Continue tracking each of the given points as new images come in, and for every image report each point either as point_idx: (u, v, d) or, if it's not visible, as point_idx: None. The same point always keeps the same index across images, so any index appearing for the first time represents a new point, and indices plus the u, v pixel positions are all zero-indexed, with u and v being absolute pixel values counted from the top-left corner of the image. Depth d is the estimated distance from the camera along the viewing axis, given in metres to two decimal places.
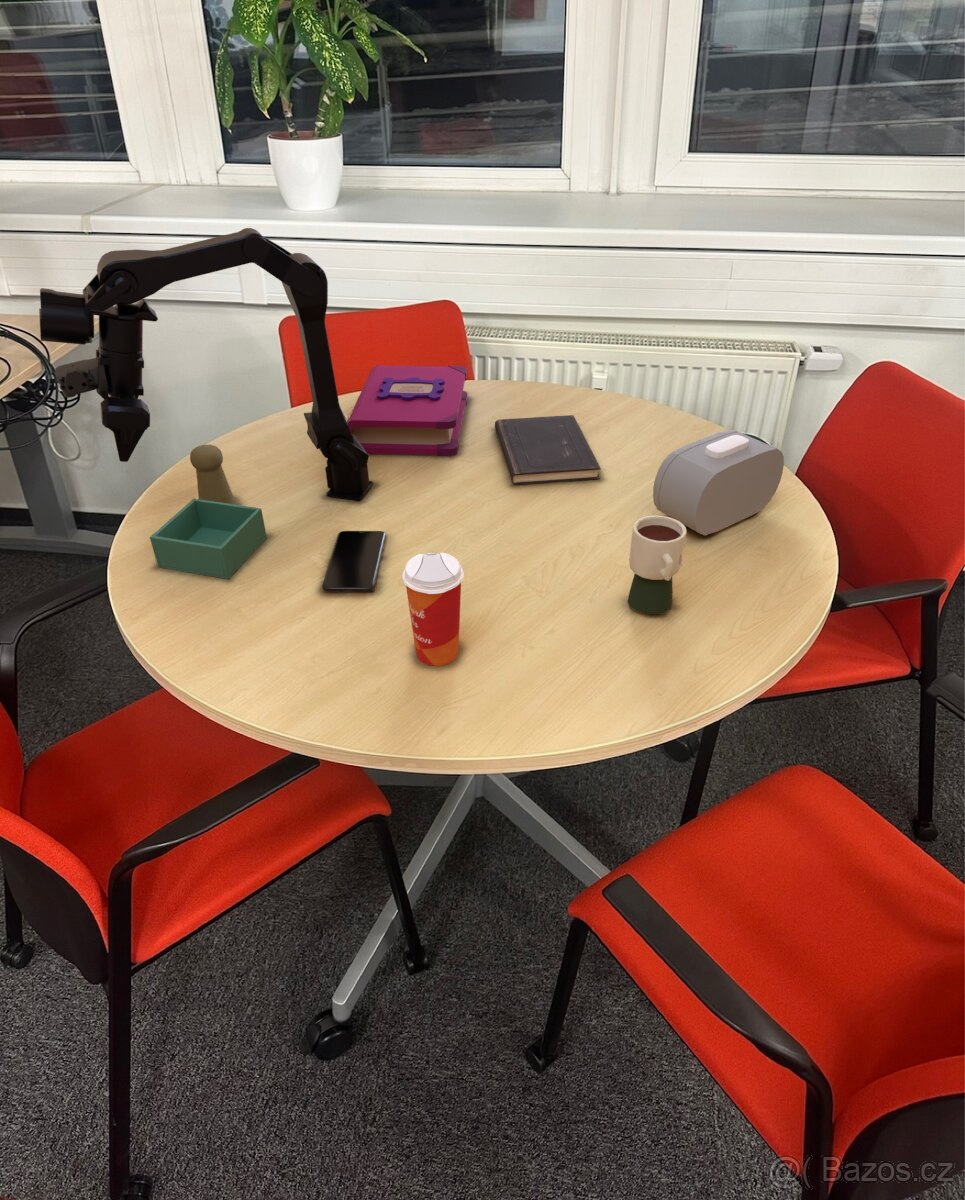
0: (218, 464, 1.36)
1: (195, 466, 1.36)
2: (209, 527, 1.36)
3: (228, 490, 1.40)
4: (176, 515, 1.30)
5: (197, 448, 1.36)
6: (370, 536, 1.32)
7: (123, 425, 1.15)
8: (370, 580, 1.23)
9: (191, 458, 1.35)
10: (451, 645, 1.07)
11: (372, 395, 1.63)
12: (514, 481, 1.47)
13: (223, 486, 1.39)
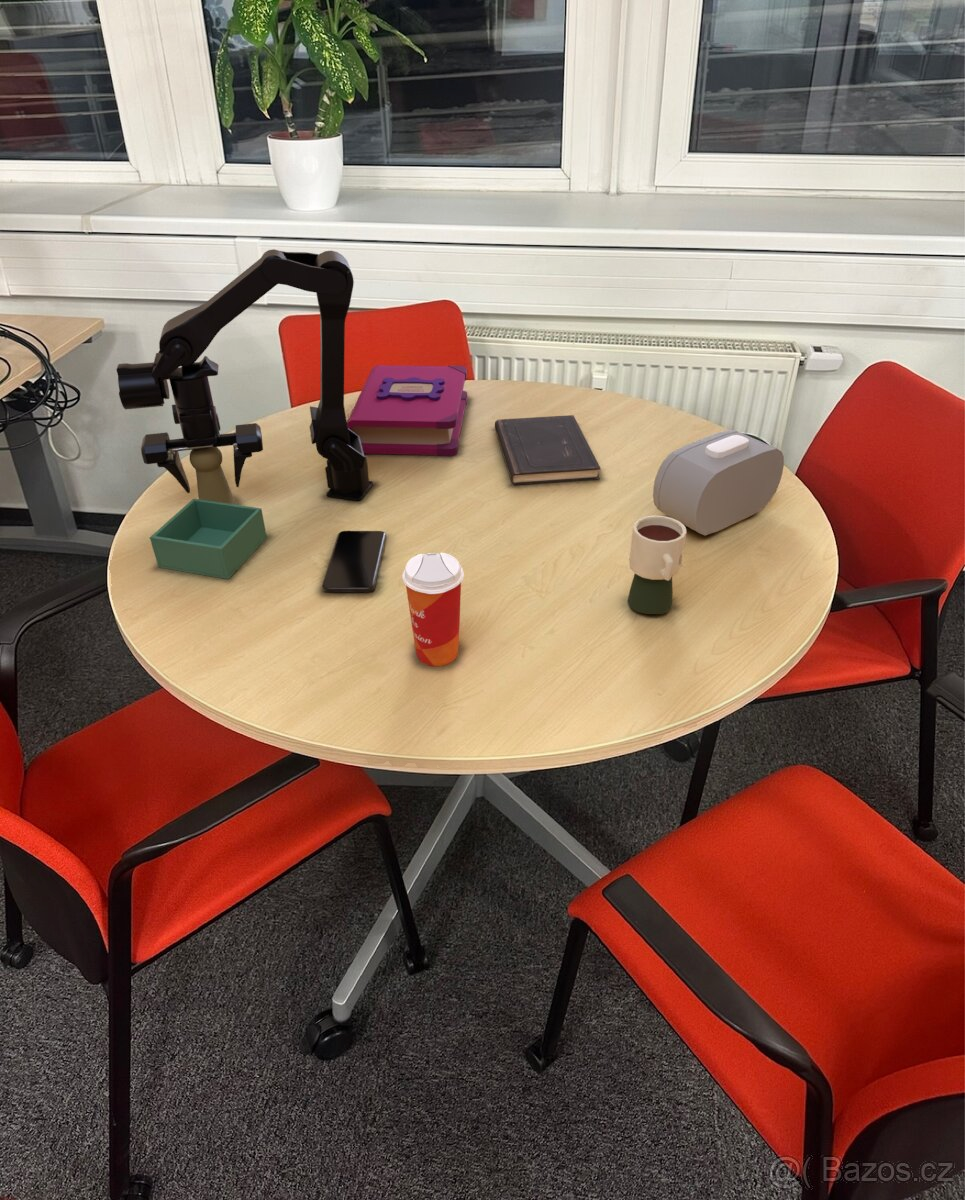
0: (217, 464, 1.36)
1: (195, 466, 1.36)
2: (209, 527, 1.36)
3: (228, 490, 1.40)
4: (176, 515, 1.30)
5: None
6: (370, 536, 1.32)
7: None
8: (370, 580, 1.23)
9: (190, 458, 1.35)
10: (451, 645, 1.07)
11: (372, 395, 1.63)
12: (514, 481, 1.47)
13: (223, 486, 1.39)
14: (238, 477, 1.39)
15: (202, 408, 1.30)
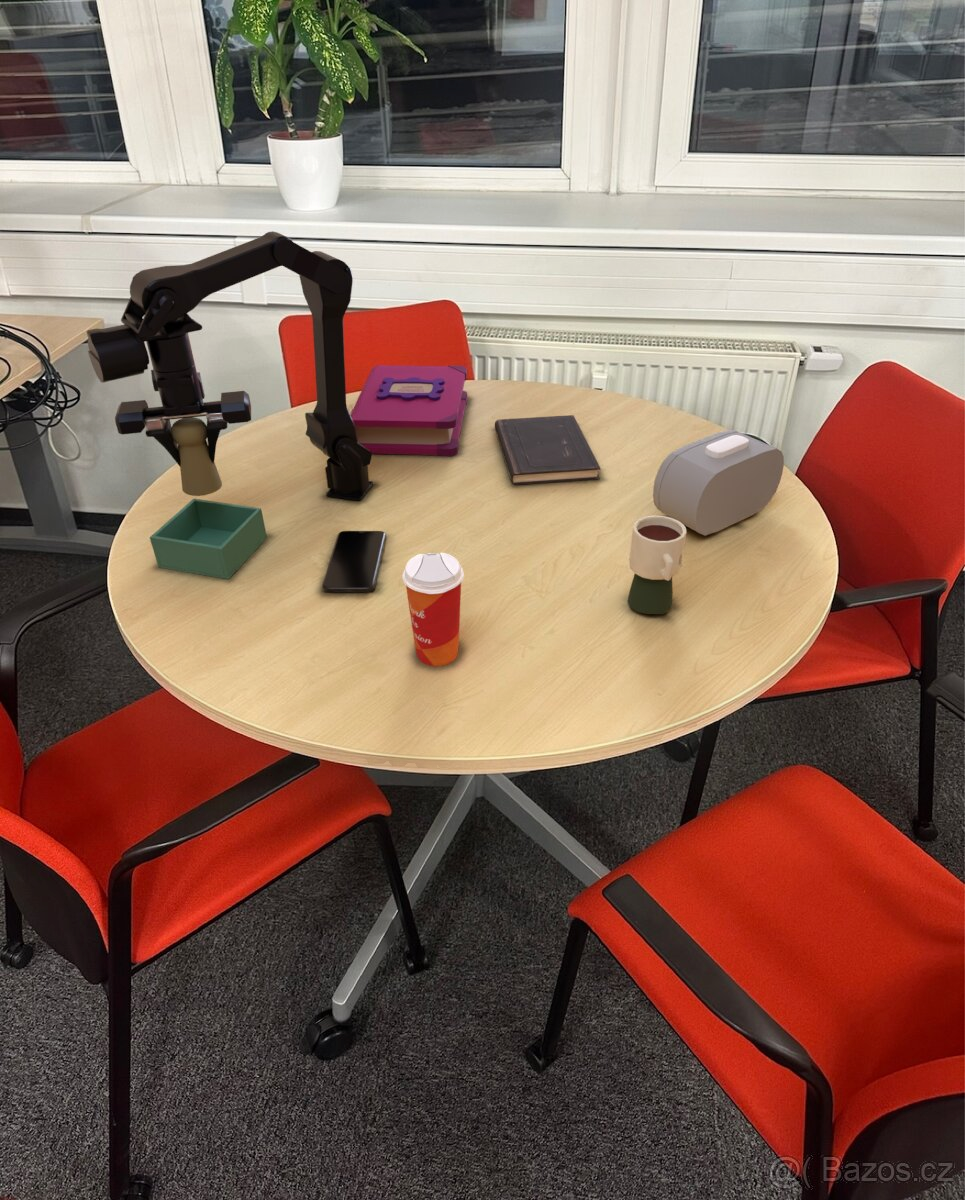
0: (202, 439, 1.23)
1: (176, 441, 1.22)
2: (209, 527, 1.36)
3: (213, 468, 1.27)
4: (176, 515, 1.30)
5: (179, 421, 1.23)
6: (370, 536, 1.32)
7: None
8: (370, 580, 1.23)
9: (172, 431, 1.22)
10: (451, 645, 1.07)
11: (372, 395, 1.63)
12: (514, 481, 1.47)
13: (208, 464, 1.26)
14: (212, 452, 1.25)
15: (182, 371, 1.16)
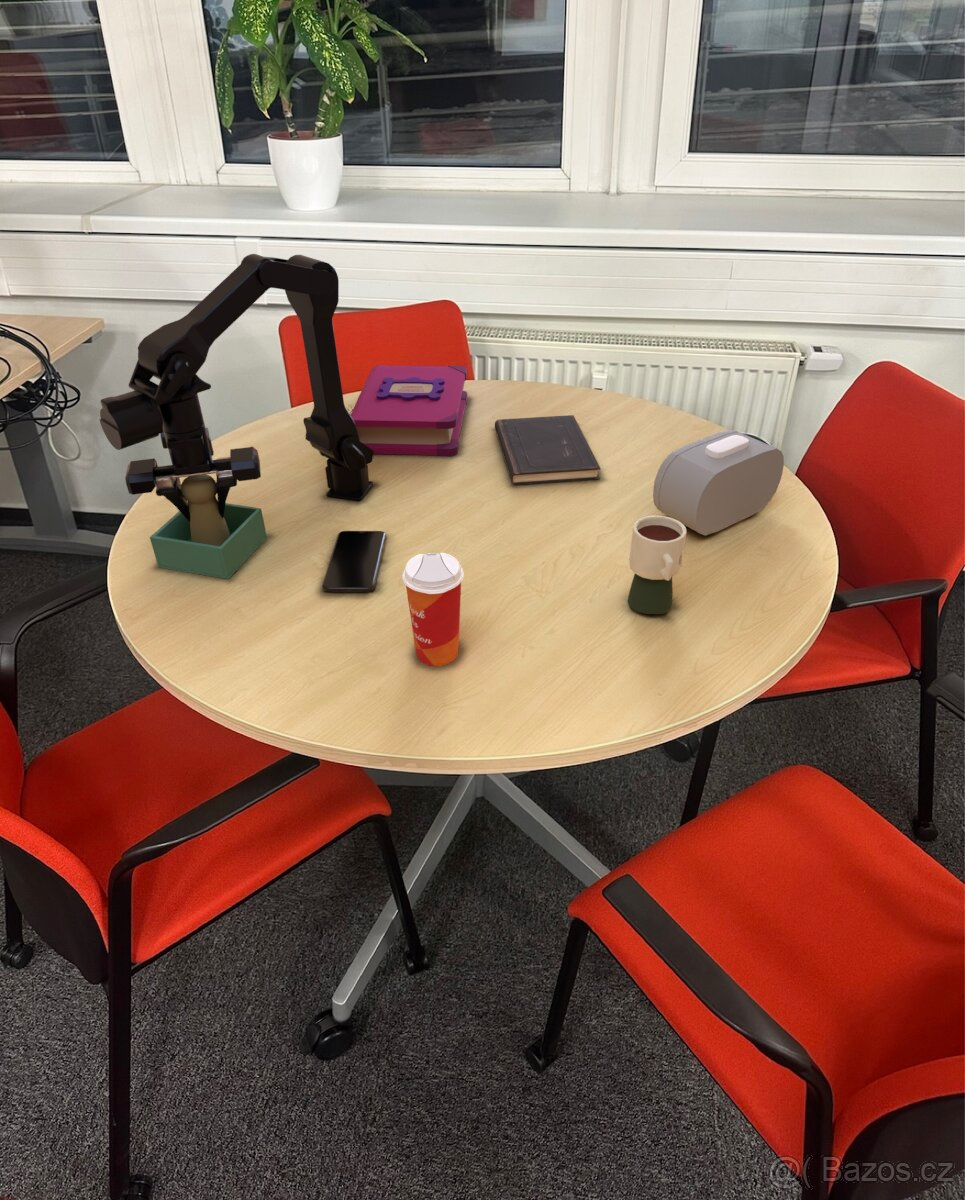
0: (212, 496, 1.24)
1: (186, 498, 1.23)
2: None
3: (223, 523, 1.28)
4: (176, 515, 1.30)
5: (189, 478, 1.23)
6: (370, 536, 1.32)
7: None
8: (370, 580, 1.23)
9: (182, 489, 1.23)
10: (451, 645, 1.07)
11: (372, 395, 1.63)
12: (514, 481, 1.47)
13: (218, 520, 1.26)
14: (222, 508, 1.26)
15: (192, 432, 1.16)
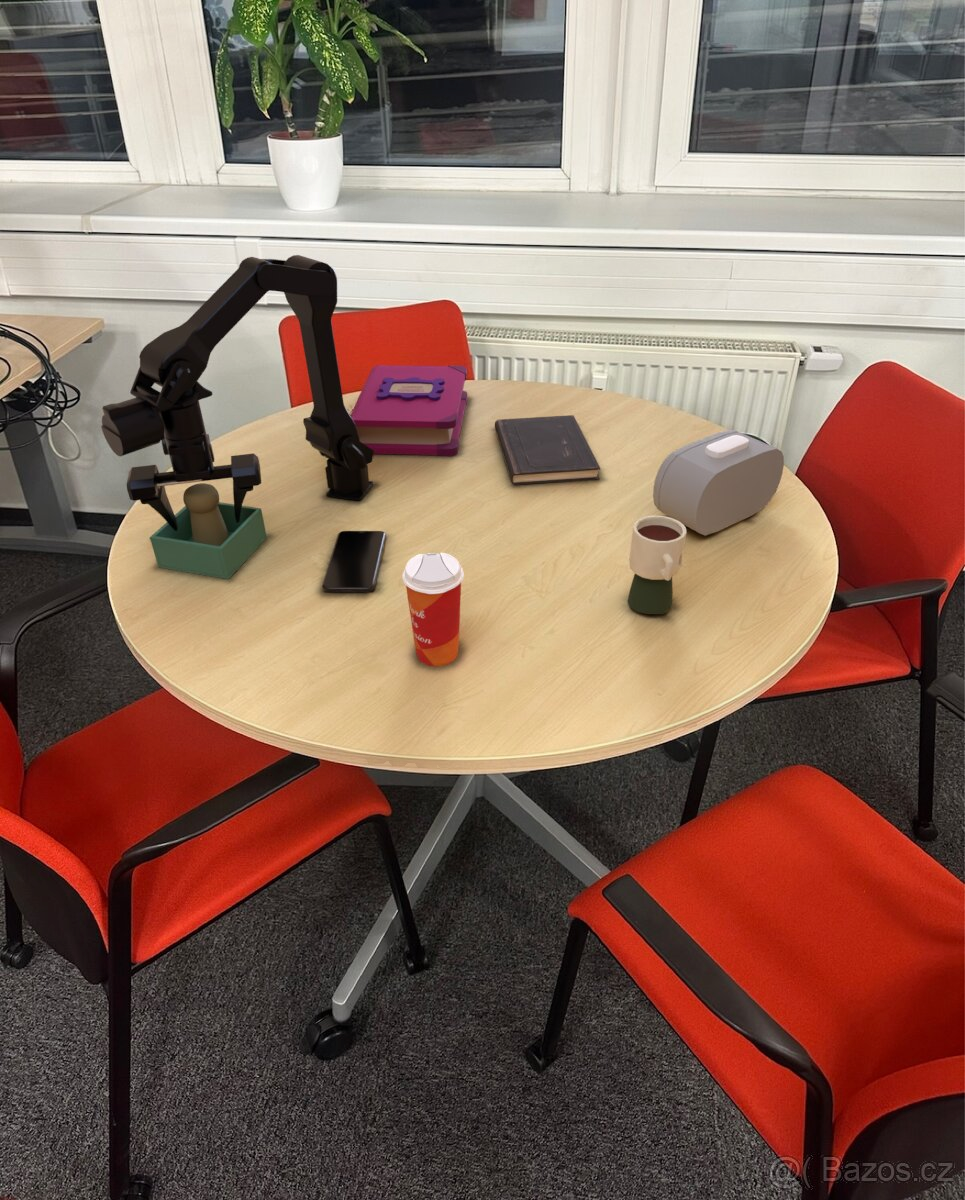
0: (214, 505, 1.25)
1: (189, 508, 1.24)
2: None
3: (225, 532, 1.29)
4: (176, 515, 1.30)
5: (191, 488, 1.24)
6: (370, 536, 1.32)
7: None
8: (370, 580, 1.23)
9: (184, 498, 1.24)
10: (451, 645, 1.07)
11: (372, 395, 1.63)
12: (514, 481, 1.47)
13: (220, 529, 1.27)
14: (238, 512, 1.27)
15: (194, 439, 1.17)
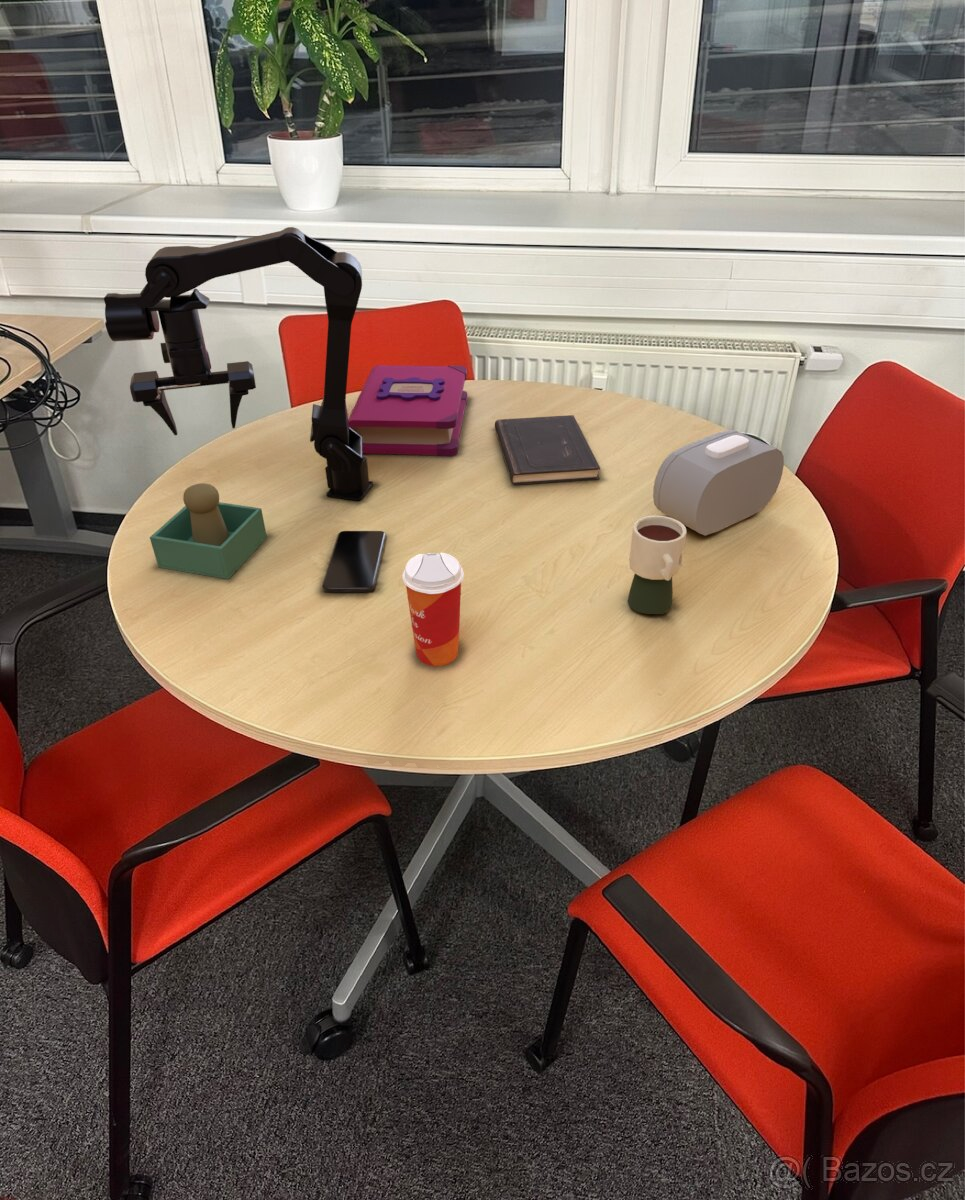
0: (214, 505, 1.25)
1: (189, 508, 1.24)
2: None
3: (225, 532, 1.29)
4: (176, 515, 1.30)
5: (191, 488, 1.24)
6: (370, 536, 1.32)
7: None
8: (370, 580, 1.23)
9: (184, 498, 1.24)
10: (451, 645, 1.07)
11: (372, 395, 1.63)
12: (514, 481, 1.47)
13: (220, 529, 1.27)
14: (234, 417, 1.35)
15: (193, 342, 1.26)
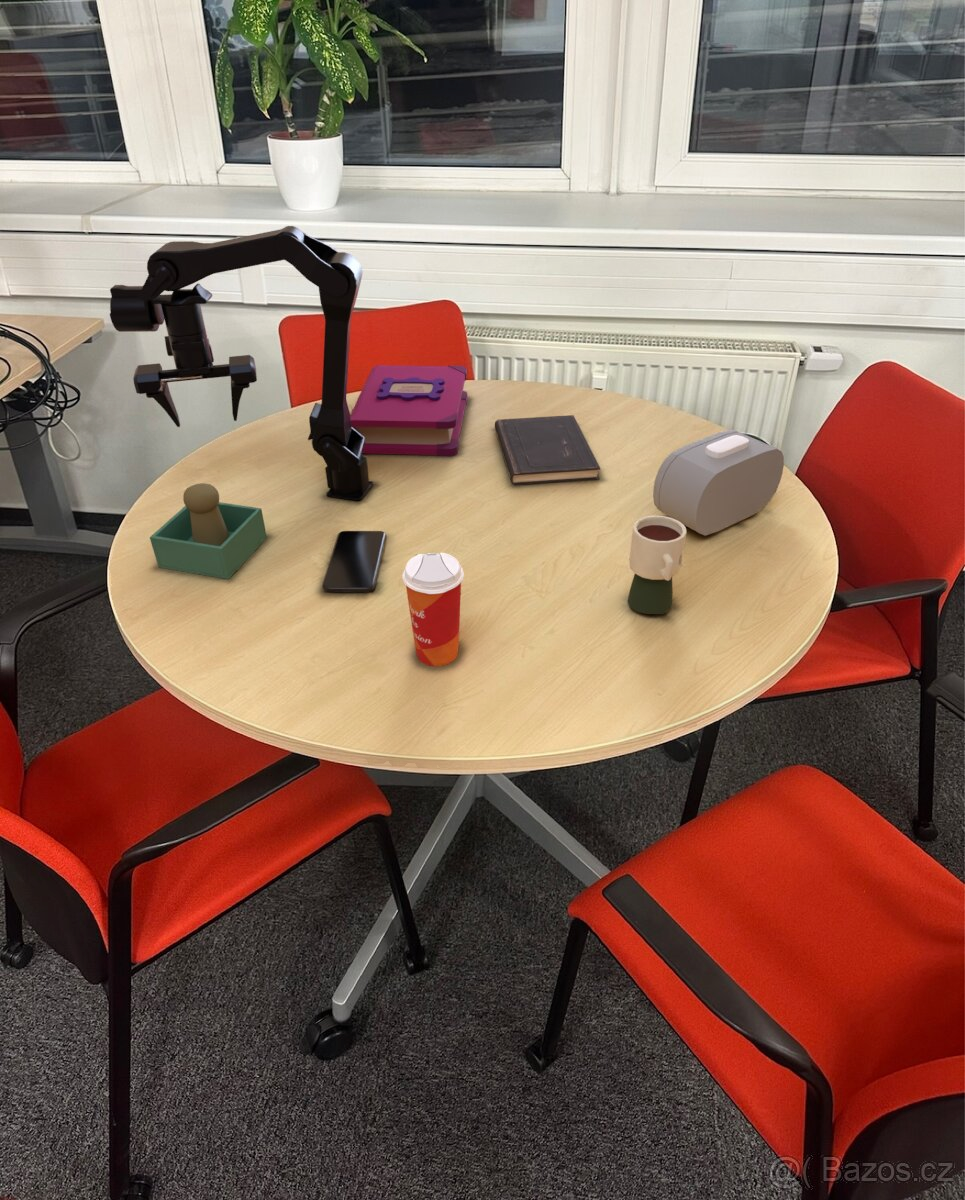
0: (214, 505, 1.25)
1: (189, 508, 1.24)
2: None
3: (225, 532, 1.29)
4: (176, 515, 1.30)
5: (191, 488, 1.24)
6: (370, 536, 1.32)
7: None
8: (370, 580, 1.23)
9: (184, 498, 1.24)
10: (451, 645, 1.07)
11: (372, 395, 1.63)
12: (514, 481, 1.47)
13: (220, 529, 1.27)
14: (236, 410, 1.38)
15: (195, 335, 1.28)
